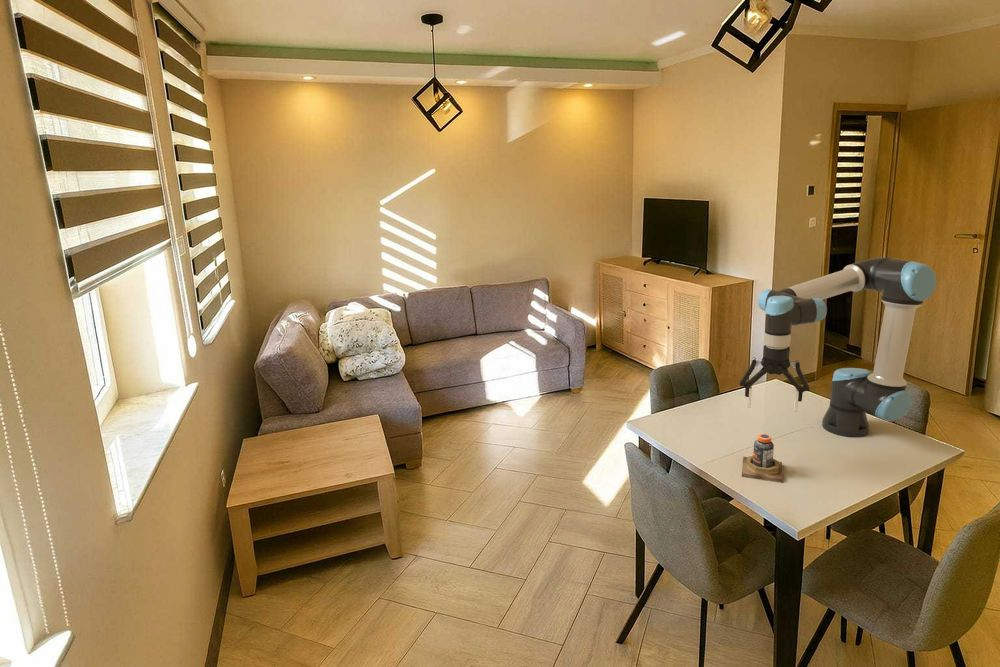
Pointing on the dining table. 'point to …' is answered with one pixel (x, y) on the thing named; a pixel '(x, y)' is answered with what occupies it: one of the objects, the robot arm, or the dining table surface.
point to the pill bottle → (763, 451)
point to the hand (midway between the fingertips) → (772, 408)
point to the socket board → (762, 470)
